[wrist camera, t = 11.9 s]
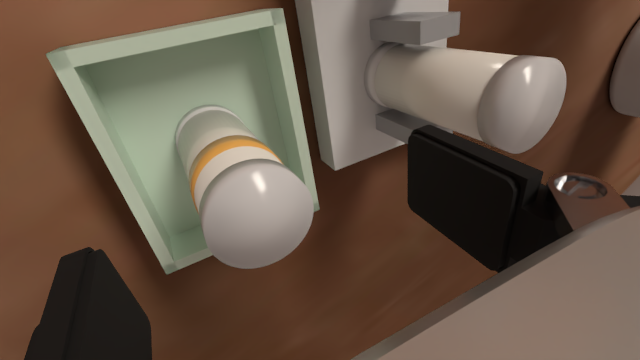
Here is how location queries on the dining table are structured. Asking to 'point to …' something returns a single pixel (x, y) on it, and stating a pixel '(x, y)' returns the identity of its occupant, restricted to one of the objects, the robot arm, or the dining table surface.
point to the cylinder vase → (627, 76)
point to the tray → (183, 111)
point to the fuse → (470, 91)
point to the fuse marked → (241, 190)
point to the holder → (362, 69)
